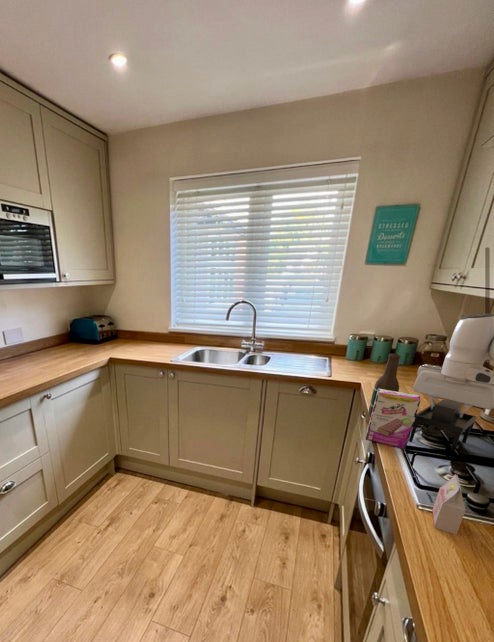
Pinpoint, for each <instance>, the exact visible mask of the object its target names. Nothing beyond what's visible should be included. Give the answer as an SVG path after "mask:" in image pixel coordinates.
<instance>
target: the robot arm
mask: <svg viewBox="0 0 494 642" xmlns="http://www.w3.org/2000/svg"><path fill="white" fill-rule="evenodd" d="M488 360H489V361H494V313H472V314H468V315H465V316H463V317H461V318H460V319H459V320H458V322H457V324H456V326H455V328H454V330H453V332H452V336H451V338H450V341H449V350H448V352H447V353H446V355H445V357H444V361H443V364H442V366H441V365H433V364H429V363H425V364H422V365H420V366H419V367H418V369H417V372H416V374H417V377H416V379H415V381H414V383H413V386H412V390H413V391H414V393H418V394H422V395H426V396H429V399H428V400H429V402H430V405H432V406H431V410H434V407H435V404H437V402H436V399H438V398H439V399H441V400H443V399H444V400H449V401H453V402H457V403H461V404H463V409H461V410H458V411H457V413H456V417H460V418H462V417H463V414H464V413H465V412H467V411H468V410H470V409H471V408H472V407H477V408H481V409H483V410H492V409H494V370H491V369H489V368H487V367H485V366H484V363H485V361H488Z"/></svg>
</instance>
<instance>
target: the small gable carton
mask: <svg viewBox="0 0 494 642" xmlns="http://www.w3.org/2000/svg"><path fill="white" fill-rule="evenodd" d="M461 487H462V486H461V483H460V480H459V476H458V474H456V473H454V475H453V476H452V477H451V478H450V479H449V480H448V481H446V482H444V484H442V485H441V486H440V487H439V490H438V491H437V495H436V498H435V501H434V502H433V507H432V520H433V528H434V529H437V530H440V531H444V532H447V533H449V534H453V535H457V534H458V531H459V529H460V526H461V524H462V521H463V518H464V516H465V513H466V511H467V510H466V507H465V506H466V505H465V502H464V498H463V493H462V488H461Z"/></svg>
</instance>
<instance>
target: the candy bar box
mask: <svg viewBox="0 0 494 642" xmlns="http://www.w3.org/2000/svg"><path fill="white" fill-rule="evenodd" d="M421 401H422V400H421V396H420V395H419V394H413V393H407V392H402V391H399V392H396V391H390V390H384V389H378V391H377V395H376V399H375V403H374V407H373V410H372V414H371V418H370V417H369V422H368V426H367V429H366V430H367V431H366V435H365V441H368V442H373V443H378V444H381V445H386V446H390V447H395V448H399V449H403V450H406V448H407V445H408V443H409V438H410V435H411V431H412V428H413V425H414V421H415V417H416V414H417V413H418V410H419V407H420V404H421Z"/></svg>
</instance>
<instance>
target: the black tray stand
mask: <svg viewBox="0 0 494 642" xmlns="http://www.w3.org/2000/svg"><path fill="white" fill-rule="evenodd" d="M431 406H432V405H431V404H430V405H429V406H427V407H425V408H424V409H422V410H421V411H419V412H417V414H416V417H415V420H414V423H413V427H412V430H411V433H410V436H409V440H408V443H413V442H414V438H415V435H416V432H417V428H418V425H419V423H422V424H424V427H426V428H428V429H429V426H432V427H436V428H439V429H443V430H446V431H449V432H451V433H455V435H454V438H453V441H452V444H451V447H450V450H449V452H448V456H450V455H453V456H454V454H455V451H456V448H457V445H458V443H459V440H460V437H461V435H462V434H463V433H464V434H463V437H462V439H461V443H462V444H466V443H467V440H468V437H469V434H470V432H471V429H472V426H473V424H474V423H476V419H477V415H474V414H473V415H472V414H469V413H465V412H464V414H463V417H462V418H460V417H458V419H457V420H455V421H454V422H453V423H452V424H447V423H444V422H440V421H437V420H433V419H431V417H432V413H433V410H431Z"/></svg>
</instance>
